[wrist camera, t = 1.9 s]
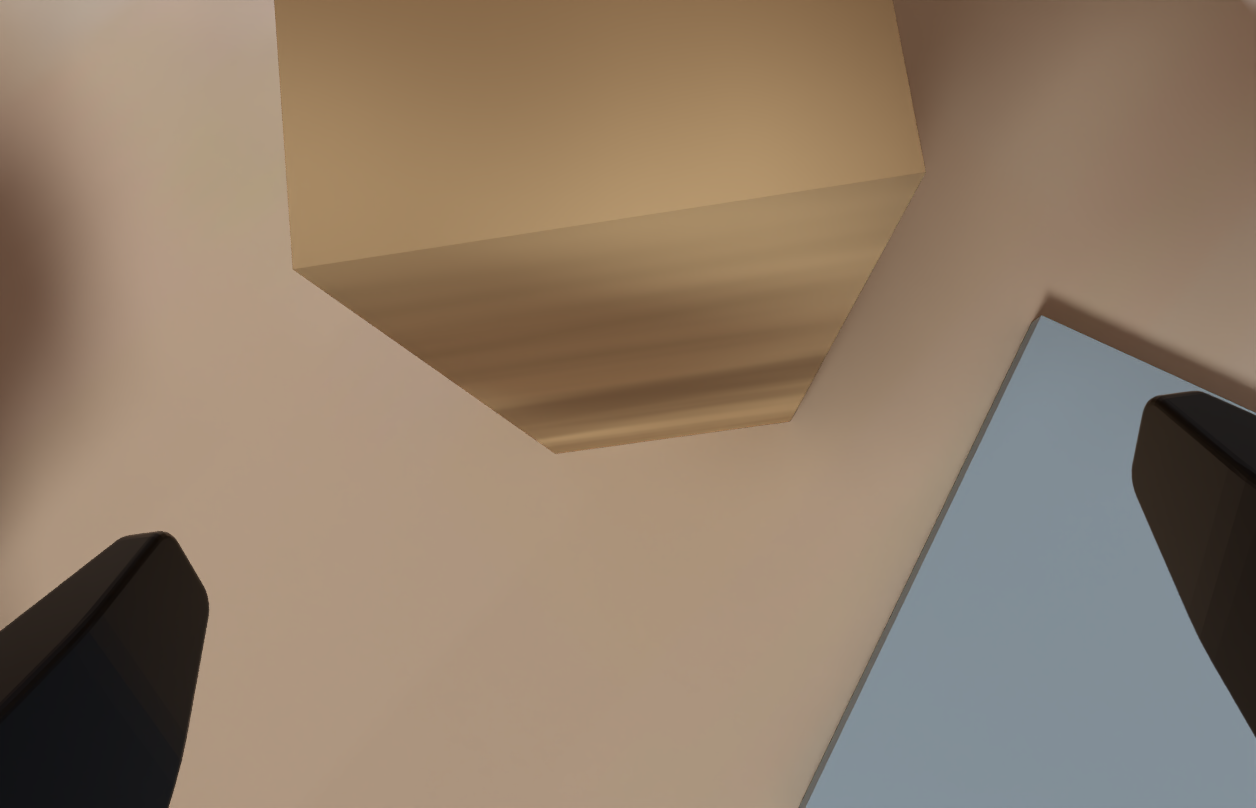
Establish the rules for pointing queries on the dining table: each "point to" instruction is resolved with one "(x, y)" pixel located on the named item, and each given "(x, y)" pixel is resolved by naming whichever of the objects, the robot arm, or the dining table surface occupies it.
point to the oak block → (600, 195)
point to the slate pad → (1044, 624)
